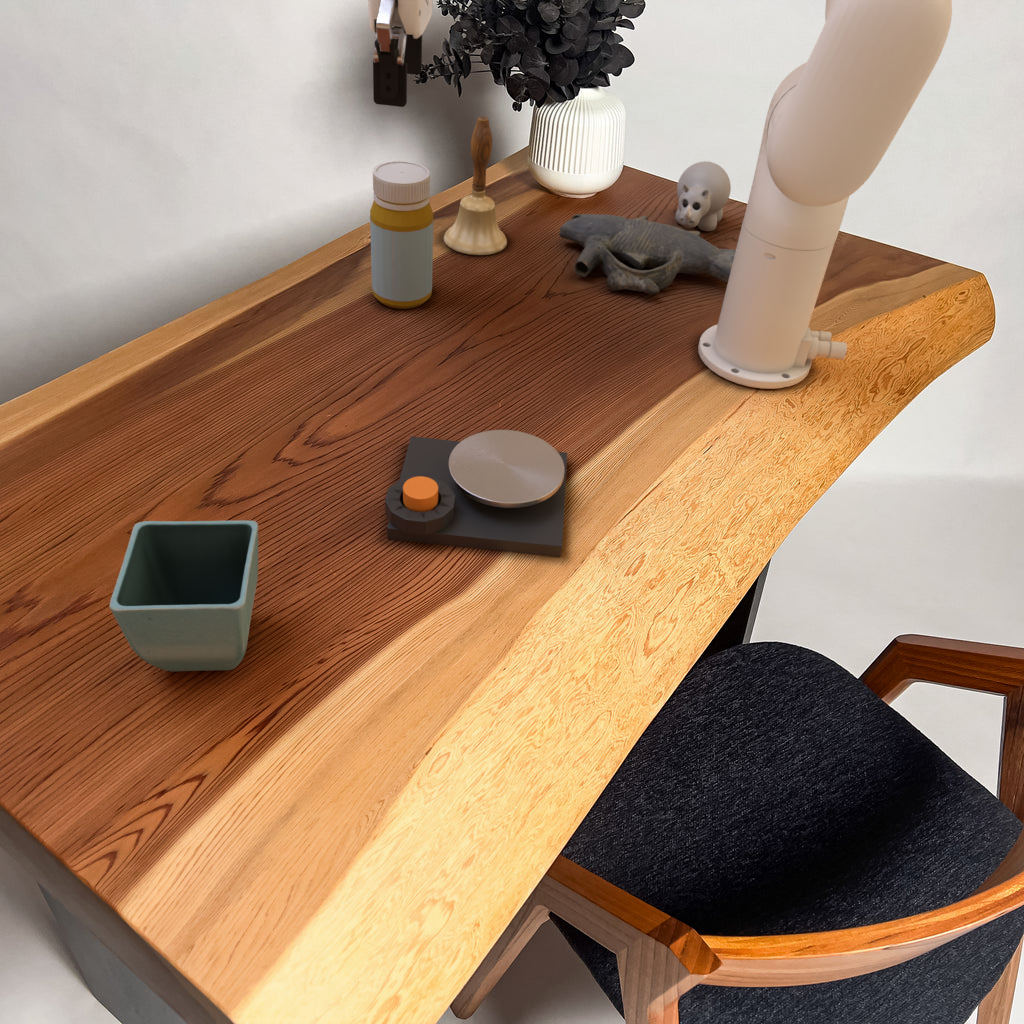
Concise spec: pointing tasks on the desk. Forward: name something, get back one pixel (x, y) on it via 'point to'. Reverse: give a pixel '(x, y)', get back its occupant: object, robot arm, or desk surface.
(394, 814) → the desk surface
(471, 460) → the weighing platform
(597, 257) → the grey lumpy piece
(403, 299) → the bottle
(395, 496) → the scale
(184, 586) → the flower pot
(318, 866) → the desk surface
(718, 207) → the round bodied animal figurine
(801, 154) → the robot arm
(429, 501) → the tare button
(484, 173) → the hand bell
